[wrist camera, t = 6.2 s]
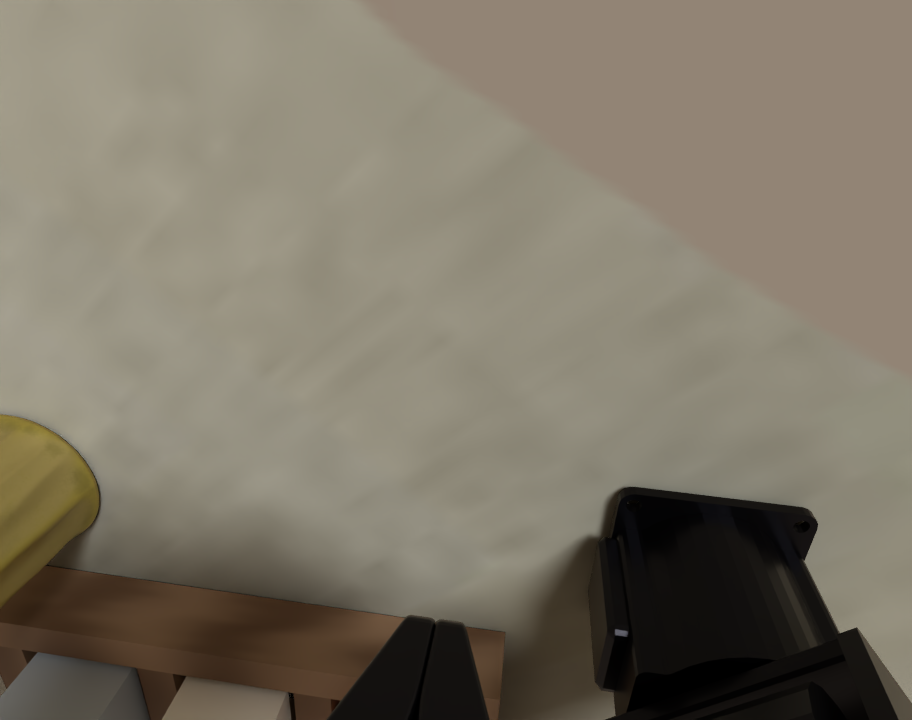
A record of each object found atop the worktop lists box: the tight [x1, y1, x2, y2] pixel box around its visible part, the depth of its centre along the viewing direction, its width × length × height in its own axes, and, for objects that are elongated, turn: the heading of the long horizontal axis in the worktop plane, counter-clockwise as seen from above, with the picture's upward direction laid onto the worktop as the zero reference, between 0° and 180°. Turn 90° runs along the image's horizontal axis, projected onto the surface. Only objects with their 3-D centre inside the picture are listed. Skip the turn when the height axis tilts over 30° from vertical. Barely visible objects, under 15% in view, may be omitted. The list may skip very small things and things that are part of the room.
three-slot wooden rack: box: [0, 566, 505, 720], centre depth 27 cm, size 21×8×3 cm, turn 87°
